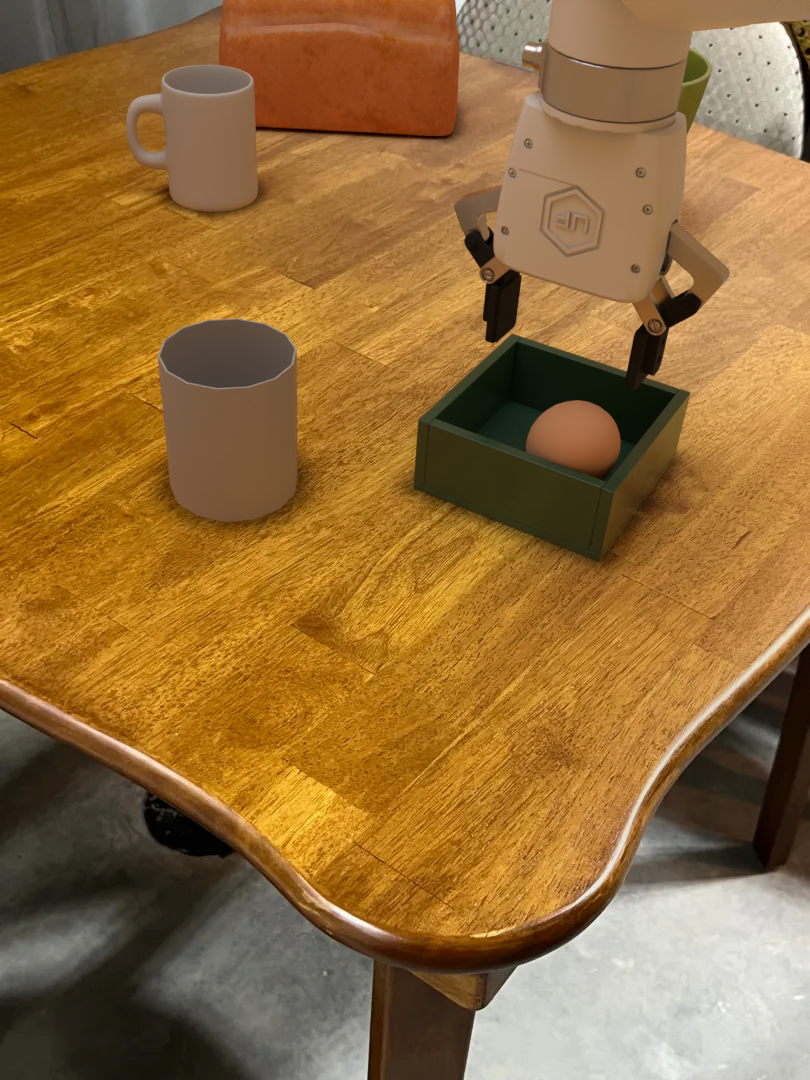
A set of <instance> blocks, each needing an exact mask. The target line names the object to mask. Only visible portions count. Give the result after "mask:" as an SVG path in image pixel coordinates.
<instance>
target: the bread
mask: <svg viewBox="0 0 810 1080" xmlns="http://www.w3.org/2000/svg"><path fill="white" fill-rule="evenodd" d="M221 4H222V5H221V13H220V14H221V15H220V16H221V21H220V23H219V24H220V25H219V38H218V39H219V41H218V65H220V66H227V67H232V68H236V69H240V70H242V71H244V72H246V73H248V74H249V75H250V76H251V77H252V78H253V80H254V89H255V121H256V128H271V129H272V128H275V129H295V130H296V129H299V130H311V131H312V130H314V131H332V132H353V133H354V132H357V133H373V134H389V135H391V134H392V135H404V136H405V135H407V136H422V137H423V136H424V137H425V136H426V137H436V136H437V137H445V136H450V135H451V134H452V133H453V131H454V130H455V129H454V128H455V125H456V119H457V114H458V113H457V111H458V102H459V101H458V98H459V97H458V96H459V74H460V34H459V30H458V25H457V15H458V14H457V6H456V5H457V4H456V0H222V3H221Z"/></svg>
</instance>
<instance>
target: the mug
mask: <svg viewBox="0 0 810 1080" xmlns="http://www.w3.org/2000/svg"><path fill="white" fill-rule="evenodd" d="M160 84H161V92H160V93H151V94H145V95H141V96H138V97H136V98H135V99H133V100H132V101H131V102H130V104H129V106H128V109H127V114H126V120H125V121H126V123H125V126H126V127H125V129H126V137H127V144H128V147H129V150H130V153H131V155H132V157H133V159H134V160H135V162H136V163H137V164H139V165H140V166H141V167H143V168H146V169H151V170H160V171H162V170H163V171H167V177H168V189H169V190H168V191H169V195H170V198H171V199H172V200H173V202H175V204H177V205H178V206H180V207H182V208H185V209H188V210H192V211H197V212H201V213H203V212H204V213H224V212H232V211H236V210H240V209H243V208H246V207H247V206H250V205H251V204H252V203H253V202H255V201H256V199H257V197H258V194H259V176H258V174H259V173H258V158H257V156H258V151H257V127H256V121H255V89H254V80H253V78H252V77H251V76H250V75H249V74H248V73H246V72H244V71H242V70H240V69H236V68H232V67H227V66H220V65H219V64H195V65H194V64H193V65H186V66H182V67H178V68H177V67H176V68H174V69H172V70H170V71H168V72H165V74H164V75H163V76H162V78H161V82H160ZM146 113H147V114H148V113H151V114H157V115H159V116H161V117H162V118H163V124H164V125H163V127H164V134H165V136H164V137H165V148H164V149H162V150H159V151H148V150H146V149H144V148H143V146H142V145H141V142H140V140H139V137H138V121H139V118H140V116H141V115H143V114H146Z"/></svg>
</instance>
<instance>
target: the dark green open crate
mask: <svg viewBox="0 0 810 1080" xmlns="http://www.w3.org/2000/svg"><path fill="white" fill-rule="evenodd" d="M626 373H627V370H624V369H621V368H618V367H616V366H611V365H609V364H606V363H603V362H599V361H597V360H594V359H591V358H588V357H584V356H582V355H578V354H577V353H576V354H575V353H572V352H570V351H567V350H563V349H561V348H557V347H556V346H555V347H554V346H551V345H549V344H545V343H543V342H539V341H537V340H533V339H530V338H527V337H524V336H521V335H519V334H515V333H510V335H509V336H508V337H507V338H505V339H504V340H503V341H502V342H500V344H498V346H497V347H495V349H493V350H492V351H491V352H490V353H489V354H488V355H487V356H486V357H485V358H483V359H482V360H481V361H480V362H479V363H478V364H477V365H476V366H475V367H474V368H472V370H471V371H469V372H468V373H467V374H466V375H465V376H464V377H463V378H462V379H461V380H460V381H459V382H458V383H456V384H455V385H454V386H453V387H452V388H451V389H450V390H448V391H447V392H446V393H445V395H443V396H442V397H441V398H440V399H439V400H438V401H437V402H436V403H435V404H433V406H432V407H430V408H429V409H428V410H427V411H426V412H425V413H424V414H423V415H422V416H421V417H419V418H418V419H417V430H416V431H417V433H416V443H415V444H416V445H415V446H416V447H415V458H414V459H415V461H414V475H413V487H412V488H413V489H414V490H416V491H419V492H421V493H423V494H425V495H429V496H431V497H433V498H436V499H439V500H441V501H444V502H447V503H449V504H451V505H454V506H456V507H459V508H461V509H463V510H466V511H468V512H471V513H473V514H477V515H479V516H481V517H484V518H486V519H489V520H492V521H494V522H497V523H499V524H501V525H504V526H506V527H509V528H511V529H514V530H516V531H519V532H520V533H521V532H522V533H524V534H526V535H529V536H531V537H534V538H537V539H539V540H541V541H544V542H546V543H549V544H551V545H553V546H556V547H559V548H561V549H564V550H565V551H566V550H567V551H569V552H572V553H574V554H577V555H579V556H582V557H584V558H587V559H589V560H591V561H594V562H597V563H600V562H601V561H602V559H603V558H604V556H605V555H606V554H607V553H608V551H609V550H610V548H611V547H612V546H613V544H614V543H615V541H616V540H617V539H618V537H619V536H620V535H621V533H622V531H624V530H625V528H626V526H627V525H628V523H629V522H631V521H630V520H632V518H633V516H634V515H635V514H636V513H637V512H638V509H640V507H641V505H642V504H643V503H644V501H645V500H646V498H647V497H648V496H649V494H650V493H651V492H652V490H653V489H654V488H655V486H656V485H657V483H658V482H659V481H660V479H661V478H662V476H663V475H664V474H665V473H666V471H667V470H668V468H669V467H670V466H671V464H672V463H673V461H674V460H675V457H676V452H677V449H678V445H679V441H680V437H681V432H682V429H683V425H684V422H685V418H686V414H687V409H688V404H689V400H690V397H691V392H690V391H687V390H685V389H682V388H678V387H676V386H673V385H669V384H666V383H663V382H660V381H658V380H654V379H651V378H648V377H646V378H645V379H644V381H643V382H642V383H641V384H640V385H639V386H638V388H637V389H636V390H632V389H629V388H627V385H624V383H625V378H626ZM575 400H580V401H587V402H590V403H593V404H595V405H597V406H600V407H601V408H602V409H603V410H605V411H606V412H607V413H609V415H610V416H611V417H612V418H613V419H614V421H615V423H616V425H617V427H618V431H619V434H620V440H621V443H620V454H619V457H618V459H617V462H616V464H615V466H614V467H613V469H612V470H611V472H610V473H609V474H608V475H607V476H606V478H604V479H603V480H600V479H597V478H595V477H592V476H589V475H586V474H584V473H581V472H578V471H576V470H573V469H570V468H568V467H565V466H562V465H559V464H557V463H554V462H551V461H549V460H546V459H543V458H541V457H538V456H535V455H532V454H530V453H527V452H526V442H527V437H528V434H529V432H530V429H531V427H532V425H533V424H534V423H535V421H536V420H537V419H538V418H539V416H540V415H541V414H542V413H544V412H545V411H546V410H548V409H549V408H551V407H553V406H555V405H556V404H560V403H563V402H567V401H575Z"/></svg>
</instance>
